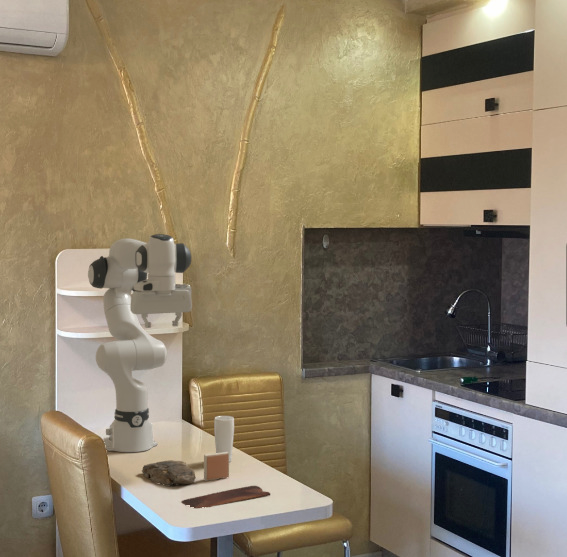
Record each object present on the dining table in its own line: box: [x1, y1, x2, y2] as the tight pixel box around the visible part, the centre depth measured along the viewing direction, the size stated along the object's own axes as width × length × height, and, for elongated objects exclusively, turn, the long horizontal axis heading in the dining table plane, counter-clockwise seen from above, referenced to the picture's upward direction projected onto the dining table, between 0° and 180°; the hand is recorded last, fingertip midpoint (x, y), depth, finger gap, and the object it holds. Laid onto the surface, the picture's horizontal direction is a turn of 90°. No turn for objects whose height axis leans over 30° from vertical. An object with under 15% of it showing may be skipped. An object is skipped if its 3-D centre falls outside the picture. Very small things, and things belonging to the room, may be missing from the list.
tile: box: [203, 452, 230, 481], centre depth 278 cm, size 2×8×8 cm, turn 117°
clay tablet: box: [141, 460, 196, 486], centre depth 278 cm, size 14×5×20 cm
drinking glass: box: [213, 415, 235, 463], centre depth 298 cm, size 7×7×15 cm
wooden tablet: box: [181, 485, 271, 509], centre depth 260 cm, size 26×2×10 cm
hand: (161, 327), depth 284 cm, fingers open, 8 cm apart
